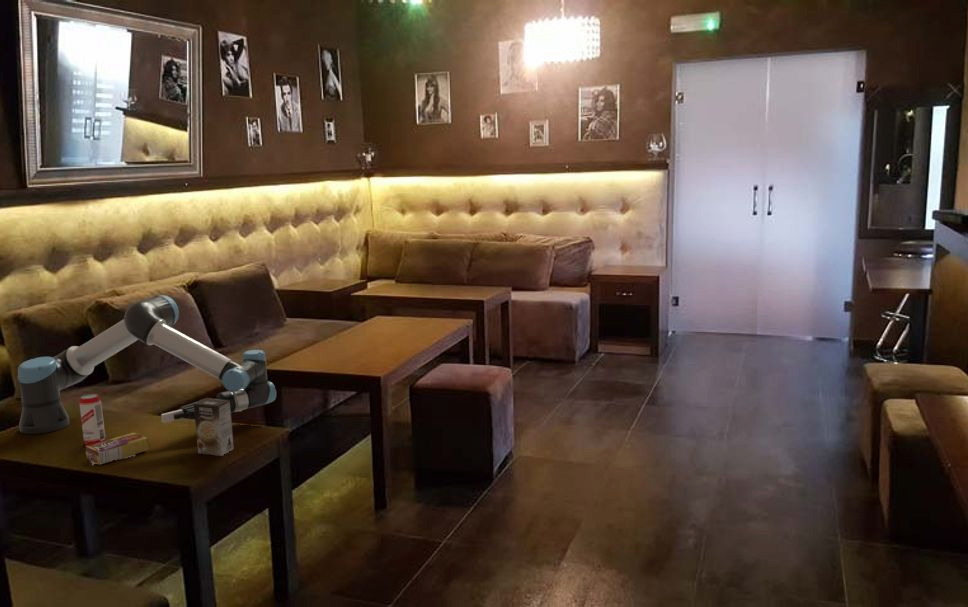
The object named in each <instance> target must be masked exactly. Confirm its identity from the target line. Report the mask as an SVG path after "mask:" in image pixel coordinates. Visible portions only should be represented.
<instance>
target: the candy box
mask: <svg viewBox="0 0 968 607" xmlns="http://www.w3.org/2000/svg"><path fill="white" fill-rule="evenodd" d="M145 451H149V442H148V437H146V436H143V435H141V434H138V433H136V432H130V433H127V434H124V435H120V436H117V437H113V438H109V439H106V440H105V441H102V442H99V443H96V444H92V445H89V446H87V445H85V455H86V459H88V460H89V459H90V460H92V461H94V462H96V463H98V464H97V465H103V464H106V463H109V462H114V461H113V460H115V461H118V460H117V459H119V460H121V459H120V458H123V457H127V456H130V455H133V454H135V455H136V454H139V453H142V452H143V453H144V452H145ZM90 460H89V461H90Z"/></svg>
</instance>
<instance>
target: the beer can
mask: <svg viewBox="0 0 968 607" xmlns="http://www.w3.org/2000/svg"><path fill="white" fill-rule="evenodd" d="M79 413H80V419H81V429H82V436H83V444H84V445H85V446H89V445H92V444H96V443H99V442H102V441H106V440H107V439H106V430H105V423H104V422H105V421H104V415H103V413H104V412H103V405H102V399H101V397H99V394H98V393H89V394H88V393H86V394H84V395H81V396H80V400H79Z"/></svg>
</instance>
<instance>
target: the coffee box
mask: <svg viewBox="0 0 968 607" xmlns="http://www.w3.org/2000/svg"><path fill="white" fill-rule="evenodd" d="M202 399H203V400H202ZM202 399H200V400H201V401H200V400H198V401H196V402H197V403H195V402H194V403H195V404H194V411H195V418H194V419H195V421H194V422H195V432H196V442H197V444H196V445H197V453H198V454H201V453H202V454H203V455H209V454H210V456H211V455H212V456H219V457H223V456H224V454H225V455H226V454H227V453H230V452H231V451H233V450H234V439H233V438H234V437H233V425H232V413H231V410H230V400H222V399H216V398H211V397H204V398H202ZM229 451H230V452H229Z"/></svg>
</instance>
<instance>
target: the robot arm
mask: <svg viewBox="0 0 968 607" xmlns="http://www.w3.org/2000/svg"><path fill="white" fill-rule="evenodd" d="M179 314H180V311H179V306H178V305H177V303H176V301H175V300H174V299H173V298H171V297H170V296H167V295H164V294H159V295H158V294H157V295H156V294H155V295H153V296H152V297H149V298H146V299H144V300H140V301H137V302H135V303H132V304H131V305H130V306H129V307H128V308H126V310H125V313H124V317H123V319H122V320H120V321H119V322H117V323H116V324H113V325H112V326H111V327H109V328H107V329H105V330H103V331H102V332H101V333H99V334H98V335H96V336H95V337H92V338H91V339H90V340H88V341H87V342H85V343H83V344H82V345H79V346H77V345H72V346H70V347H68V348H66V349H65V350H63V351H62V352H60V353H59V354H57V355H55V356H52V357H51V356H39V357H35V358H30V359H29V360H26V361H24V362H22V363H21V364H19V366H18V367H17V380H18V385H19V392H20V399H21V406H22V410H21V414H20V418H19V425H18V427H19V428H18V429H19V432H20V433H21V434H25V435H37V434H39V435H40V434H45V433H50V432H56V431H60V430H61V429H64V428H66V427H67V426H69V425H70V417H69V414H68V413H67V411H66V409H65V407H64V404H63V403H62V399H61V391H62V390H64V389H67V388H68V387H70V386H71V387H72V386H74V385H75V384H76V385H77V384H79V383H81V382H83V381H85V380H84V379H86V378H88V376H89V375H91V374H92V373H93V372H94V369H95V367H96V366H98V365H99V364H101V363H102V362H104V361H106V360H107V359H109V358H110V357H112V356H114V355H116V354H117V353H118V352H119V353H120V351H122V350H124V349H125V348H127V347H129V346H130V345H132V344H134V343H135V342H137V341H140V342H142V343H144V344H146V345H147V346H152V345H155V346H157V347H158V348H160V349H162V350H164V351H166V352H167V353H169V354H171V355H173V356H175V357H177V358H179V359H180V360H182V361H184V362H186V363H188V364H190V365H192V366H193V367H195V368H197V369H198V370H201V371H203V372H205V373H206V374H208V375H211V376H212V377H214V378H216V379H218V380H219V381H221V383H222V386H223V387H224V388H225V390H227V391H222V392H219V393H217V395H216V398H215V399H222V400H230V410H231V414H233V413H236V412H237V413H238V412H240V413H241V412H242V411H244V410H247V409H252V408H255V407H261V406H265V405H267V404H270V403H272V402H274V401H275V400H276V398H277V390H276V386H275V385H274V383H273V382H271V381H269V380H268V373H267V372H268V371H267V358H266V352H265V351H263V350H261V349H251V350H250V349H249V350H247V351H244V352H243V353H242V361H241V363H238V362H236V361H234V360H233V359H231V358H229V357H227V356H225V355H223V354H221V353H219V352H218V351H216V350H214V349H213V348H210V347H208V346H207V345H205V344H203V343H201V342H199V341H197V340H196V339H194V338H192V337H190V336H188V335H186V334H184V333H182V332H181V331H179V330H177V329H175V328H174V327H173V326H174V325H175V324H176V322H178V320H179V317H180V316H179ZM203 399H204V398H202V399H200V400H199V401H201V400H203ZM197 402H198V401H195V402H192V403H189V404H186V405H183V406H180V407H179V409H177V410H172V411H169V412H165V413H161V414H160V417H161V422H162V423H163V424H166V423H170V422H174V421H178V420H182V419H183V420H184V419H189V420H193V419H195V411H194V404H195V403H197Z"/></svg>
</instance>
